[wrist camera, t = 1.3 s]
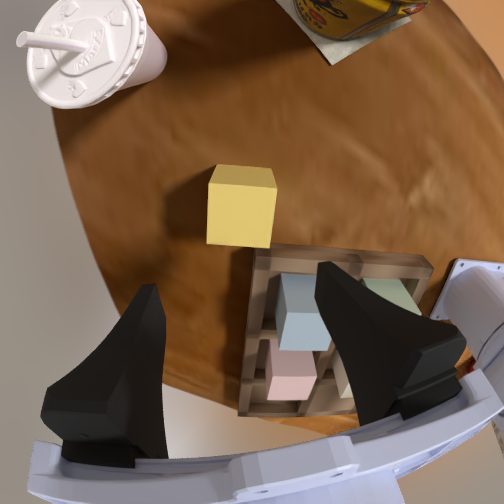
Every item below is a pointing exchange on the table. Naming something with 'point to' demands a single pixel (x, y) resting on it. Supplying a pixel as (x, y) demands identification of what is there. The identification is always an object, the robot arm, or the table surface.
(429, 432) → the robot arm
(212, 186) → the mustard block
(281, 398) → the rose block
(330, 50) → the condiment
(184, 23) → the table surface
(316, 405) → the block tray
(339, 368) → the cream block
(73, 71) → the smoothie
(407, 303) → the sage block
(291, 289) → the blue block
